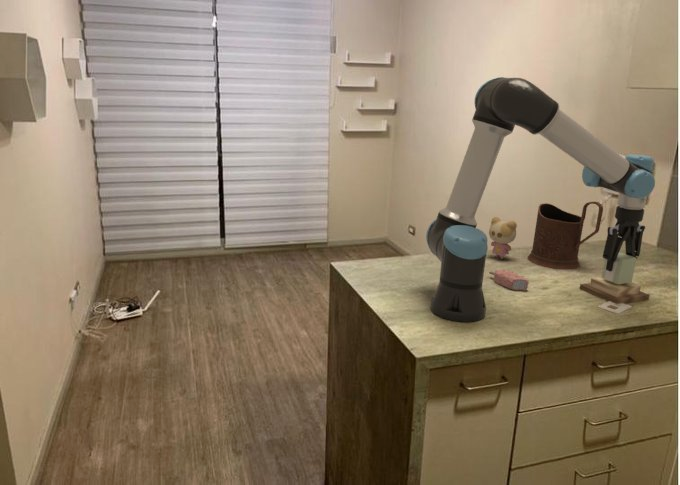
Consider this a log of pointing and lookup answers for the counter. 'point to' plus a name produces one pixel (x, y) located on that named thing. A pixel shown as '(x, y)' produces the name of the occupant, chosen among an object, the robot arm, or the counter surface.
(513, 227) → the toy
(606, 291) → the base brick
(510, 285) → the ice cream bar
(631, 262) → the sage brick
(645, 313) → the counter surface
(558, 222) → the cup holder
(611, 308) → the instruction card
